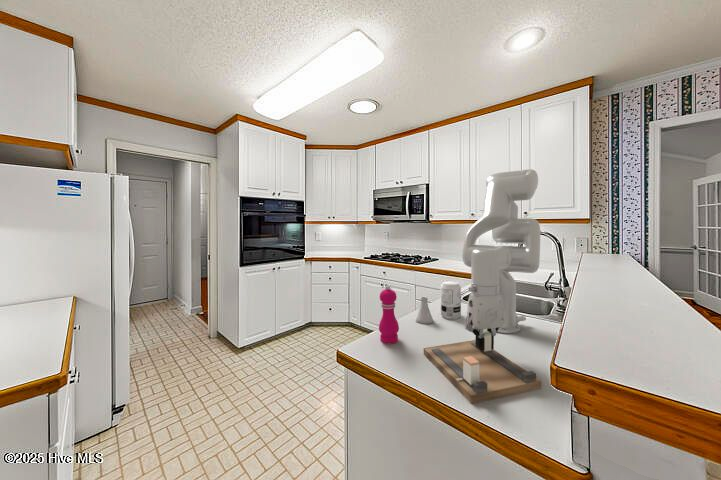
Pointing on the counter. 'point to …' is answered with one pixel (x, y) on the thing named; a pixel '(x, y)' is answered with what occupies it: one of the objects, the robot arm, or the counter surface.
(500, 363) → the wooden board
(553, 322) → the counter surface
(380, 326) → the pepper mill
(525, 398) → the counter surface
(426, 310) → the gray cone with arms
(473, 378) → the terracotta-capped tab
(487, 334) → the sage-capped tab
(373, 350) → the counter surface
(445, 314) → the supplement can
